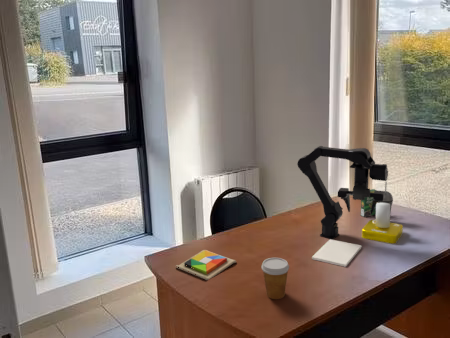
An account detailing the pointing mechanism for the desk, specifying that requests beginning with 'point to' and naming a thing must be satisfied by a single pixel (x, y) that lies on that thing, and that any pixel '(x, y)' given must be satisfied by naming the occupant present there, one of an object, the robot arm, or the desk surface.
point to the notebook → (337, 252)
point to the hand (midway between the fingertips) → (360, 212)
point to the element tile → (382, 232)
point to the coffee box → (367, 206)
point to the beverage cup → (387, 198)
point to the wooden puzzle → (206, 264)
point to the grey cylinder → (383, 215)
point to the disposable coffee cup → (275, 277)
